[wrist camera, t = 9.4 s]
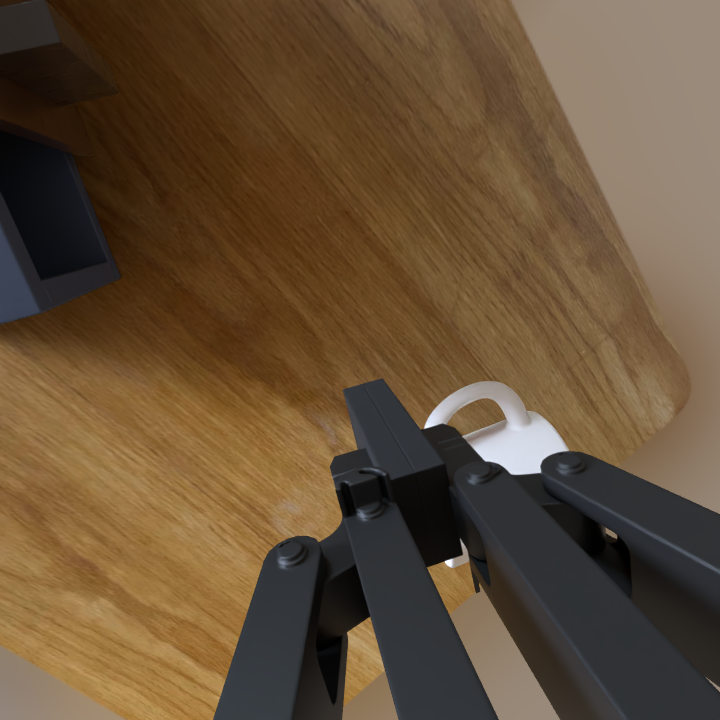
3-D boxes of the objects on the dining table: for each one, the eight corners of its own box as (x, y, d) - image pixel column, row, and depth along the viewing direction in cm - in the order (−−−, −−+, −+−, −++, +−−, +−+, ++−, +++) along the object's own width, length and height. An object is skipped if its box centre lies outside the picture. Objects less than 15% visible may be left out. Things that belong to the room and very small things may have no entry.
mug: (534, 478, 41) (595, 536, 34) (423, 524, 40) (461, 594, 33) (502, 347, 37) (564, 380, 30) (380, 395, 37) (411, 441, 29)
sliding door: (85, -31, 26) (-33, -201, 16) (147, 141, 29) (81, 97, 18) (11, -16, 26) (-163, -180, 15) (80, 157, 28) (-27, 122, 18)
